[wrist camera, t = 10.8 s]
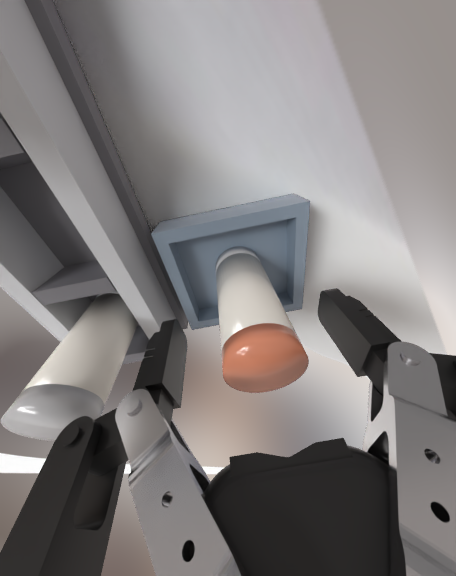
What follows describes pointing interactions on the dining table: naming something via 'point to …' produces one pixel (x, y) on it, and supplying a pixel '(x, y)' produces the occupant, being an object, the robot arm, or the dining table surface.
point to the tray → (230, 233)
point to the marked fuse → (254, 327)
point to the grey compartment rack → (67, 190)
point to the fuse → (76, 372)
